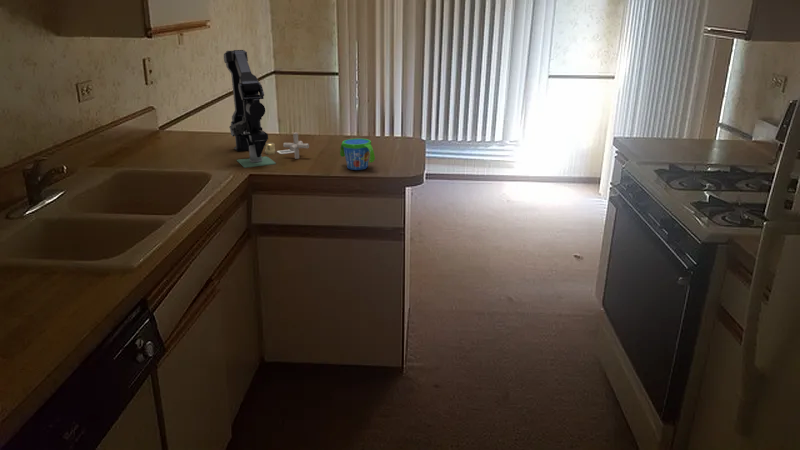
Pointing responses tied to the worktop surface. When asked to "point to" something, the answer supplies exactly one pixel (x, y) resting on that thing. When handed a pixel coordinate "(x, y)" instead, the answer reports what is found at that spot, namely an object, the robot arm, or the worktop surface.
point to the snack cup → (357, 153)
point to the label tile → (285, 151)
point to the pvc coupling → (254, 155)
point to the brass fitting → (270, 148)
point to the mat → (247, 163)
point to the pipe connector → (296, 145)
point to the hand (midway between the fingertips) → (255, 154)
